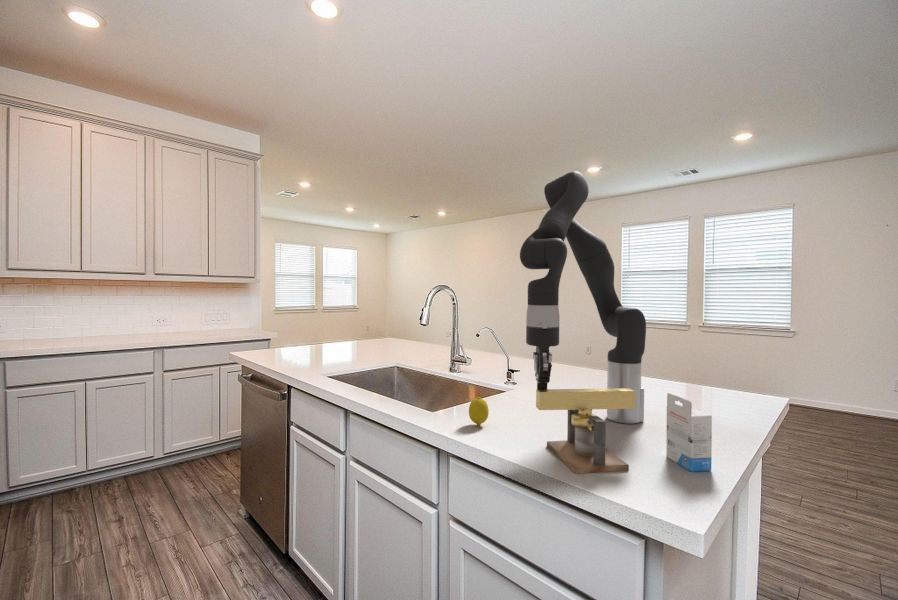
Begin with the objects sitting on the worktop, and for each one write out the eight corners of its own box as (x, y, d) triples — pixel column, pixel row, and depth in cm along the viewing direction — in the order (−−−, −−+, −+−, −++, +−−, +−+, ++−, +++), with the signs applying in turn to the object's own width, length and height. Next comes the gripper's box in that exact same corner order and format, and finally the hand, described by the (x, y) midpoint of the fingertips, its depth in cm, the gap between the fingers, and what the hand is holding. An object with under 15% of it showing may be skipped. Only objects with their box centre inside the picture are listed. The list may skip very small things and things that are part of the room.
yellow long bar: (531, 418, 95) (531, 385, 95) (621, 417, 97) (621, 384, 97) (544, 433, 86) (544, 396, 85) (644, 431, 87) (644, 395, 87)
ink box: (712, 471, 85) (713, 401, 84) (690, 472, 84) (691, 401, 84) (685, 455, 93) (686, 391, 93) (665, 456, 93) (666, 392, 92)
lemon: (487, 429, 110) (487, 400, 110) (467, 427, 111) (467, 399, 111) (489, 423, 115) (489, 395, 115) (470, 421, 117) (470, 394, 116)
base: (593, 444, 100) (593, 402, 100) (628, 470, 85) (629, 421, 85) (546, 446, 98) (547, 403, 98) (575, 473, 83) (575, 423, 83)
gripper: (524, 322, 101) (523, 391, 101) (528, 326, 88) (528, 405, 88) (554, 322, 100) (554, 392, 101) (564, 327, 87) (563, 407, 87)
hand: (541, 398), depth 94 cm, fingers closed
